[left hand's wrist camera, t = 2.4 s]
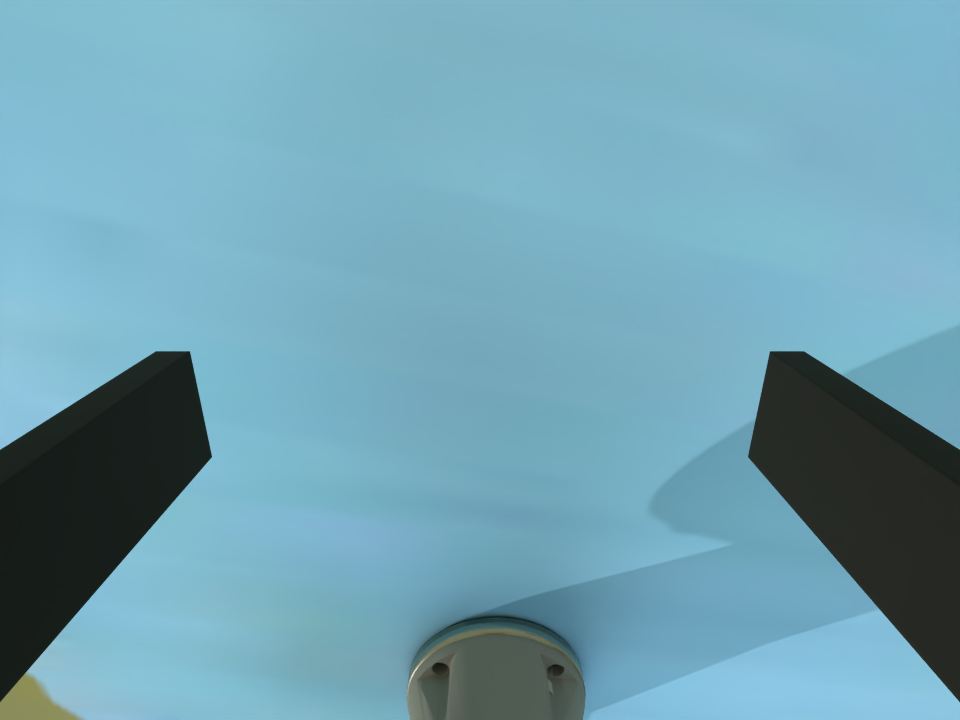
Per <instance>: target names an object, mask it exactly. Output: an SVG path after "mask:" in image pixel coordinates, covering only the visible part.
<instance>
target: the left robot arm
mask: <svg viewBox="0 0 960 720" xmlns="http://www.w3.org/2000/svg"><path fill="white" fill-rule="evenodd" d="M211 457H212V455H211V450H210V445H209V440H208V436H207V431H206V426H205V421H204V417H203V412H202V407H201V402H200V397H199V393H198V388H197V383H196V378H195V374H194V369H193V364H192V359H191V354H190V351H156V352H154V353H153V354H151V355H150V356H148V357H146V358H145V359H143V360H142V361H140V362H139V363H137V364H135V365H134V366H132V367H131V368H129V369H127V370H126V371H124V372H123V373H121V374H120V375H118V376H116V377H115V378H113V379H112V380H110V381H108V382H107V383H105V384H104V385H102V386H101V387H99V388H97V389H96V390H94V391H93V392H91V393H90V394H88V395H86V396H85V397H83V398H82V399H80V400H78V401H77V402H75V403H74V404H72V405H71V406H69V407H67V408H66V409H64V410H63V411H61V412H59V413H58V414H56V415H55V416H53V417H52V418H50V419H48V420H47V421H45V422H44V423H42V424H40V425H39V426H37V427H36V428H34V429H33V430H31V431H29V432H28V433H26V434H25V435H23V436H21V437H20V438H18V439H17V440H15V441H14V442H12V443H10V444H9V445H7V446H6V447H4V448H2V449H1V450H0V702H1V700H2V699H3V698H4V697H5V696H6V695H7V693H8V692H9V691H10V690H11V689H12V688H13V687H14V685H15V684H16V683H17V682H18V681H19V680H20V678H21V677H22V676H23V675H24V674H25V673H26V672H27V670H28V669H29V668H30V667H31V666H32V665H33V663H34V662H35V661H36V660H37V659H38V658H39V656H40V655H41V654H42V653H43V652H44V651H45V650H46V648H47V647H48V646H49V645H50V644H51V643H52V641H53V640H54V639H55V638H56V637H57V636H58V634H59V633H60V632H61V631H62V630H63V629H64V628H65V626H66V625H67V624H68V623H69V622H70V621H71V619H72V618H73V617H74V616H75V615H76V614H77V612H78V611H79V610H80V609H81V608H82V607H83V606H84V604H85V603H86V602H87V601H88V600H89V599H90V597H91V596H92V595H93V594H94V593H95V592H96V591H97V589H98V588H99V587H100V586H101V585H102V584H103V582H104V581H105V580H106V579H107V578H108V577H109V575H110V574H111V573H112V572H113V571H114V570H115V569H116V567H117V566H118V565H119V564H120V563H121V562H122V560H123V559H124V558H125V557H126V556H127V555H128V553H129V552H130V551H131V550H132V549H133V548H134V547H135V545H136V544H137V543H138V542H139V541H140V540H141V538H142V537H143V536H144V535H145V534H146V533H147V531H148V530H149V529H150V528H151V527H152V526H153V525H154V523H155V522H156V521H157V520H158V519H159V518H160V516H161V515H162V514H163V513H164V512H165V511H166V510H167V508H168V507H169V506H170V505H171V504H172V503H173V501H174V500H175V499H176V498H177V497H178V496H179V494H180V493H181V492H182V491H183V490H184V489H185V488H186V486H187V485H188V484H189V483H190V482H191V481H192V479H193V478H194V477H195V476H196V475H197V474H198V472H199V471H200V470H201V469H202V468H203V467H204V466H205V464H206V463H207V462H208V461H209V460H210V459H211ZM748 457H749V459H750V460H751V461H752V462H753V463H754V464H755V466H756V467H757V468H758V469H759V470H760V471H761V472H762V474H763V475H764V476H765V477H766V478H767V479H768V481H769V482H770V483H771V484H772V485H773V486H774V488H775V489H776V490H777V491H778V492H779V493H780V494H781V496H782V497H783V498H784V499H785V500H786V501H787V503H788V504H789V505H790V506H791V507H792V508H793V510H794V511H795V512H796V513H797V514H798V515H799V516H800V518H801V519H802V520H803V521H804V522H805V523H806V525H807V526H808V527H809V528H810V529H811V530H812V531H813V533H814V534H815V535H816V536H817V537H818V538H819V540H820V541H821V542H822V543H823V544H824V545H825V547H826V548H827V549H828V550H829V551H830V552H831V553H832V555H833V556H834V557H835V558H836V559H837V560H838V562H839V563H840V564H841V565H842V566H843V567H844V569H845V570H846V571H847V572H848V573H849V574H850V575H851V577H852V578H853V579H854V580H855V581H856V582H857V584H858V585H859V586H860V587H861V588H862V589H863V591H864V592H865V593H866V594H867V595H868V596H869V597H870V599H871V600H872V601H873V602H874V603H875V604H876V606H877V607H878V608H879V609H880V610H881V611H882V612H883V614H884V615H885V616H886V617H887V618H888V619H889V621H890V622H891V623H892V624H893V625H894V626H895V628H896V629H897V630H898V631H899V632H900V633H901V634H902V636H903V637H904V638H905V639H906V640H907V641H908V643H909V644H910V645H911V646H912V647H913V648H914V650H915V651H916V652H917V653H918V654H919V655H920V656H921V658H922V659H923V660H924V661H925V662H926V663H927V665H928V666H929V667H930V668H931V669H932V670H933V672H934V673H935V674H936V675H937V676H938V677H939V678H940V680H941V681H942V682H943V683H944V684H945V685H946V687H947V688H948V689H949V690H950V691H951V692H952V694H953V695H954V696H955V697H956V698H957V699H958V700H959V702H960V450H959V449H958V448H956V447H954V446H953V445H951V444H950V443H948V442H946V441H945V440H943V439H942V438H940V437H939V436H937V435H935V434H934V433H932V432H931V431H929V430H927V429H926V428H924V427H923V426H921V425H920V424H918V423H916V422H915V421H913V420H912V419H910V418H908V417H907V416H905V415H904V414H902V413H901V412H899V411H897V410H896V409H894V408H893V407H891V406H889V405H888V404H886V403H885V402H883V401H882V400H880V399H878V398H877V397H875V396H874V395H872V394H870V393H869V392H867V391H866V390H864V389H863V388H861V387H859V386H858V385H856V384H855V383H853V382H852V381H850V380H848V379H847V378H845V377H844V376H842V375H840V374H839V373H837V372H836V371H834V370H833V369H831V368H829V367H828V366H826V365H825V364H823V363H821V362H820V361H818V360H817V359H815V358H814V357H812V356H810V355H809V354H807V353H806V352H804V351H770V354H769V359H768V364H767V369H766V374H765V378H764V383H763V388H762V393H761V397H760V402H759V407H758V412H757V417H756V421H755V426H754V431H753V436H752V440H751V445H750V450H749V455H748ZM407 702H408V710H409V715H410V720H583V714H584V707H585V687H584V682H583V676H582V671H581V667H580V663H579V661H578V659H577V657H576V655H575V653H574V652H573V650H572V649H571V648H570V646H569V645H568V644H567V643H566V642H565V641H564V640H563V639H561V638H560V637H559V636H557V635H556V634H555V633H553V632H551V631H550V630H548V629H546V628H544V627H542V626H539V625H537V624H534V623H531V622H527V621H523V620H519V619H512V618H500V617H493V618H480V619H474V620H469V621H465V622H462V623H459V624H456V625H453V626H451V627H449V628H447V629H445V630H443V631H441V632H439V633H438V634H436V635H435V636H433V637H432V638H431V639H430V640H428V641H427V642H426V643H425V644H424V645H423V646H422V648H421V649H420V650H419V651H418V653H417V655H416V656H415V658H414V660H413V662H412V666H411V669H410V675H409V682H408V689H407Z"/></svg>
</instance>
